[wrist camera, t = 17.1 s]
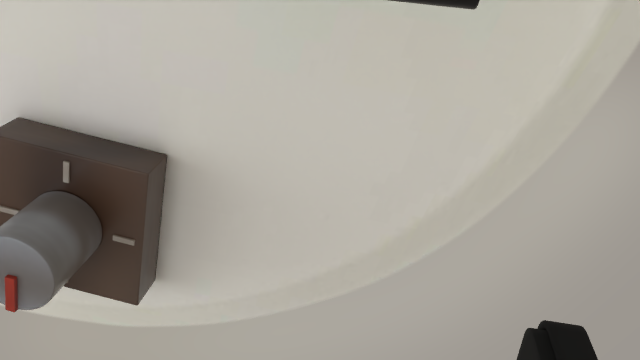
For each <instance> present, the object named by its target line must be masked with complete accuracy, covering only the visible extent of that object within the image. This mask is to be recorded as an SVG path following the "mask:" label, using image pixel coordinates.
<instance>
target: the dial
mask: <svg viewBox="0 0 640 360" xmlns="http://www.w3.org/2000/svg"><path fill="white" fill-rule="evenodd" d="M101 240H102V227H101V223H100V221H99V218H98V216H97V215H96V213H95V212H94V210H93V209H92V208H91V207H90V206H89V205H88V204H87V203H86V202H85V201H83V200H82V199H80V198H79V197H77V196H75V195H73V194H70V193H67V192H62V191H51V192H47V193H44V194H42V195H40V196H38V197H37V198H36V199H35V200H33V201H32V202H31V203H29V204H28V205H27V206H26V207H24V208H23V209H22V210H20V211H19V212H18V213H17V214H15V215H14V216H13V217H11V218H10V219H9V220H8V221H6V222H5V223H4V224H3V225H1V226H0V303H2V304H4V305H5V307H6V310H8V311H12V312H15V311H17V310H18V309H21V310H32V309H37V308H40V307H42V306H44V305H45V304H47V303H48V302H49V301H50V300H51V299H52V298H53V297H54V296H55V294H56V293H57V292H58V291H59V290H60V289H61V288H62V287H63V286H64V285H65V283H66V282H67V281H68V280H69V279H70V278H71V277H72V276H73V275H74V274H75V273H76V271H77V270H78V269H79V268H80V267H81V266H82V265H83V264H84V263H85V262H86V261H87V259H88V258H89V257H90V256H91V255H92V254H93V253H94V252H95V251H96V250H97V248H98V247H99V245H100V243H101Z"/></svg>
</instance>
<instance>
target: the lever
mask: <svg viewBox="0 0 640 360" xmlns="http://www.w3.org/2000/svg"><path fill="white" fill-rule="evenodd" d="M390 1H399V2H409V3H418V4H428V5H437V6H446V7H456V8H465V9H476V7H477V6H478V3H479V0H390Z"/></svg>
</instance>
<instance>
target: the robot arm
mask: <svg viewBox="0 0 640 360" xmlns="http://www.w3.org/2000/svg"><path fill="white" fill-rule="evenodd" d="M517 360H598V359H597V357H596V354H595V351H594V349H593V347H592V344H591V342H590V340H589V337H588V335H587V332H586V331H585V329H584V328H583V327H582V326H578V325H572V324H565V323H559V322H552V321H546V320H545V321H542V322H541V323H540V324H539V326H538V329H534V328H528V329H527V330H526V332H525V334H524V338H523V340H522V344H521V347H520V350H519V354H518V357H517Z"/></svg>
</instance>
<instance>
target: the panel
mask: <svg viewBox="0 0 640 360" xmlns="http://www.w3.org/2000/svg"><path fill="white" fill-rule="evenodd" d="M166 161H167V155H165V154H161V153H157V152H153V151H149V150H145V149H141V148H137V147H133V146H129V145H125V144H121V143H117V142H113V141H109V140H105V139H101V138H97V137H93V136H89V135H85V134H81V133H77V132H73V131H69V130H66V129H62V128H58V127H54V126H50V125H46V124H42V123H38V122H34V121H30V120H26V119H22V118H16V119H14V120H12V121H11V122H9V123H7V124H5V125H3V126H1V127H0V226H1V225H3V224H4V223H5V222H6V221H8V220H9V219H10V218H11V217H13V216H14V215H15V214H17V213H18V212H19V211H20V210H22V209H23V208H24V207H26V206H27V205H28V204H29V203H31V202H32V201H33V200H35V199H36V198H37V197H38V196H40V195H42V194H44V193H47V192H51V191H62V192H67V193H70V194H73V195H75V196H77V197H79V198H80V199H82V200H83V201H85V202H86V203H87V204H88V205H89V206H90V207H91V208H92V209H93V210H94V212H95V213H96V215H97V216H98V218H99V221H100V223H101V227H102V240H101V243H100V245H99V247H98V248H97V250H96V251H95V252H94V253H93V254H92V255H91V256H90V257H89V258H88V259H87V261H86V262H85V263H84V264H83V265H82V266H81V267H80V268H79V269H78V270H77V271H76V273H75V274H74V275H73V276H72V277H71V278H70V279H69V280H68V281H67V282H66V283H65V285H64V286H65V287H68V288H72V289H76V290H80V291H84V292H87V293H91V294H95V295H99V296H103V297H107V298H110V299H114V300H118V301H122V302H126V303H129V304H133V305H138V304H139V303H140V301H141V300H142V298H143V297H144V295H145V294H146V292H147V291H148V289H149V288H150V287H151V285H152V284H153V282H154V281H155V275H156V264H157V254H158V244H159V233H160V223H161V212H162V202H163V192H164V181H165V171H166Z"/></svg>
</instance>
